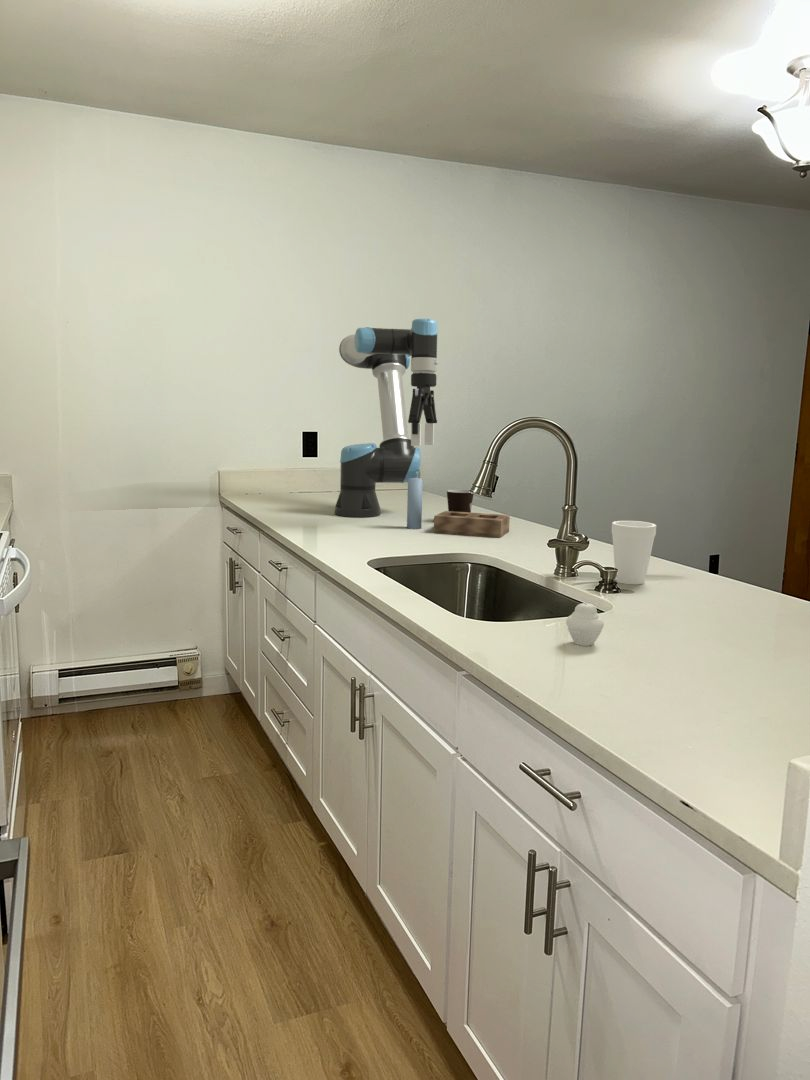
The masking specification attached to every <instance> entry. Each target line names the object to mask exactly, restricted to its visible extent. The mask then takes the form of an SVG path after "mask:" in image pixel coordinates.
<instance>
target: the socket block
mask: <svg viewBox="0 0 810 1080" xmlns="http://www.w3.org/2000/svg"><path fill="white" fill-rule="evenodd" d="M510 517H511V516H510V514H497V513H481V512H471V513H470V512H455V511H448V510H445V511H442V512H440V513H437V514H435V515H434V516H433V533H434V534H445V535H446V534H447V535H456V534H457V536H458V535H459V536H470V535H472V537H487V538H498V539H501V538H503V537H504V536H505V535H506V534H507V533H509V532H510Z"/></svg>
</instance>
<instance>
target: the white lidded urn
mask: <svg viewBox="0 0 810 1080" xmlns="http://www.w3.org/2000/svg"><path fill="white" fill-rule="evenodd" d="M565 624H566V626H567V630H568V632H569V635H570V637H571V639H572V641H573V643H574V644H575V645H578V646H583V647H584V646H585V647H589V646H590V647H591V646H593V645H594V644H595V642H596V641H597V640H598V638H599V636H600V635H601V633H602V631H603V628H604V625H605V623H604V619H602V617H601V616H600V615H599V613H598V610H597V607H596V606H595V605H593V604H592V603H587V602H583V603H579V604H577V605H576V606H575V608H574V611H573V612H572V613H571V614H570V615H568V617H567V618H566V620H565Z"/></svg>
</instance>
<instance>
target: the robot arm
mask: <svg viewBox="0 0 810 1080" xmlns="http://www.w3.org/2000/svg"><path fill="white" fill-rule="evenodd" d="M438 333H439V331H438V321H437V320H435V319H431V318H415V319H413V320H412V321H411V328H409V329H408V328H405V329H404V328H382V327H381V328H380V327H378V328H377V327H367V326H365V327H357V329H356V330H355V333H354V334H350V335H347V336H345V337H344V338H343V339H342V340H341V342H340V343H339V344H340V345H339V347H338V351H339V356H340V357H341V359H342V360H343V361H344V362H345V363H346V364H347V365H349V366H352V367H353V368H354V367H355V368H357V369H358V368H359V369H366V370H368V369H369V370H371V372H372V375H373V377H374V378H376V379H377V387H378V398H379V400H378V401H379V407H380V408H379V410H380V421H381V429H382V437H383V438H382V439H383V440H381V442H380V443H379V447H378V446H377V445H376V443H373V442H372V443H371V442H369V443H357V444H350V445H347V446H344V447H342V449H341V450H340V451H341V452H340V460H339V463H340V482H339V483H340V491H339V493H338V497H337V500H336V503H335V507H334V514H335V515H336V516H341V517H349V518H350V517H351V518H370V517H377V516H380V515H381V506H380V503H379V499H378V496H377V491H376V483H380V484H381V483H385V484H386V483H388V484H389V483H390V484H391V483H392V484H394V483H395V484H396V483H398V484H399V483H401V484H404V483H408V478H418V476H419V472H420V469H421V459H422V454H421V453H422V452H421V450H420V447H421V446H422V445H421V443H422V441H421V440H422V439H421V438H422V433H421V432H422V424H421V418H422V414H424V418H425V423H424V445H425V446H426V445H427V446H434V445H435V444H434V443H435V424H437V423H438V419H437V412H436V406H435V405H436V403H435V391H434V390H431V388H434V387H436V386H437V374H436V372H437V365H439V361H437V360H438V359H437V357H438ZM409 367H410V371H411V372H412V373H411V375H410V386H411V387H415V388H412V397H411V403H410V410H409V413H408V414H409V415H408V419H407V411H406V402H405V393H404V392H405V391H404V390H405V389H404V382H403V381H404V380H403V376H404V375H405V374H406V371H407V370H408V369H409ZM408 424H411V426H410V430H411V431H410V437H409V431H408V429H409V428H408Z"/></svg>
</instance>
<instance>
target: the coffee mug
mask: <svg viewBox="0 0 810 1080" xmlns="http://www.w3.org/2000/svg"><path fill="white" fill-rule="evenodd" d="M469 490H470V489H448V490H446V497H447V500H446V501H447V511H455V512H470V513H472V506H473V501H474V500H473V499H474V494H471V493H469Z"/></svg>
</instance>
